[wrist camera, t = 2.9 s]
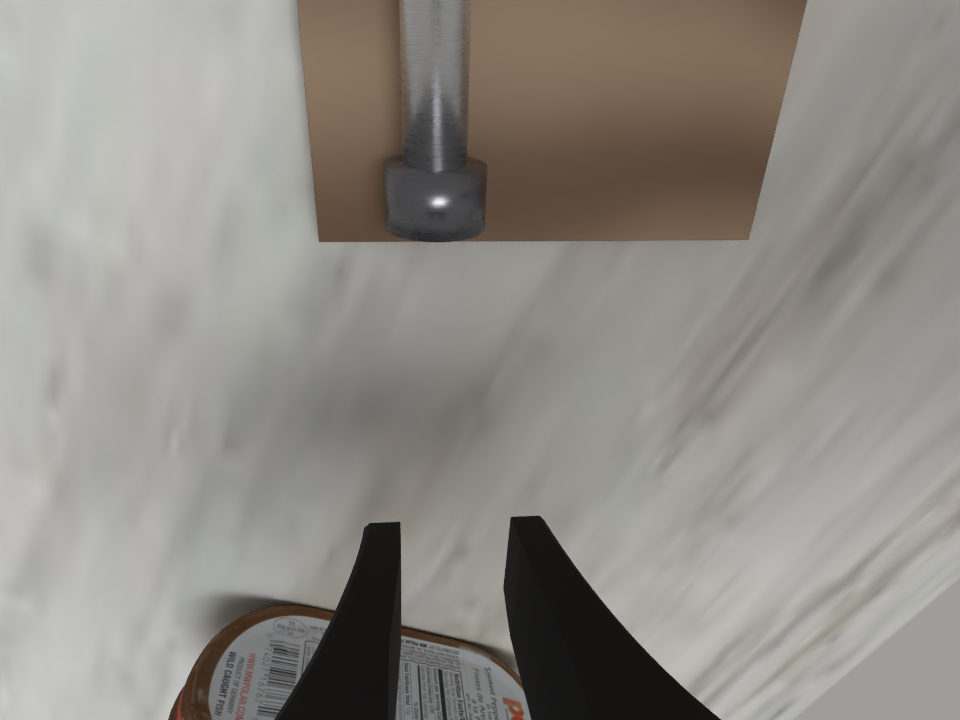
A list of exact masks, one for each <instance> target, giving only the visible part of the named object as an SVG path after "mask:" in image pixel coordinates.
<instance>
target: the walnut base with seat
mask: <svg viewBox="0 0 960 720" xmlns="http://www.w3.org/2000/svg"><path fill="white" fill-rule="evenodd" d="M297 3H298V14H299V25H300V36H301V47H302V58H303V69H304V80H305V91H306V102H307V113H308V124H309V135H310V146H311V157H312V168H313V179H314V190H315V201H316V213H317V224H318V235H319V242H399V241H415V240H409V239H404V238H400V237H397V236H394V235H392V234H390V233H389V232H388V231H386V229H385V215H384V190H383V164H382V163H383V161H384V160H386V159H389V158H392V157H397V156H403V146H402V104H401V62H400V19H399V0H297ZM806 3H807V0H471V33H470V75H469V117H468V157H470V158H474V159H478V160H481V161H483V162H485V163H486V164H487V188H486V214H485V230H484V232H483V233H482V234H480V235H478V236H476V237H473V238H470V239H466V240H460V241H626V240H749V235H750V231H751V227H752V223H753V219H754V215H755V211H756V207H757V203H758V199H759V195H760V191H761V187H762V182H763V178H764V174H765V170H766V166H767V162H768V158H769V154H770V150H771V146H772V142H773V138H774V134H775V129H776V125H777V121H778V117H779V113H780V109H781V105H782V101H783V97H784V93H785V89H786V85H787V81H788V76H789V72H790V68H791V64H792V60H793V56H794V52H795V48H796V44H797V40H798V36H799V32H800V28H801V24H802V19H803V15H804V11H805V7H806Z"/></svg>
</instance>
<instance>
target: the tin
mask: <svg viewBox="0 0 960 720" xmlns="http://www.w3.org/2000/svg"><path fill="white" fill-rule="evenodd" d="M333 615H334V612H330V611H325V610H321V609H316V608H311V607H305V606H293V605H286V606H275V607H269V608H264V609H260V610H257V611H255V612H252V613H249V614H247V615H245V616H243V617H241V618H239V619H237V620H235V621H234V622H232V623H231V624H229V625H228V626H226V627H225V628H224V629H222V630H221V631H220V632H219V633H218V634H217V635H216V636H215V637H214V638H213V639H212V640H211V641H210V642H209V644H208V645H207V646H206V647H205V648H204V650H203V652H202V653H201V655H200V656H199V658H198V659H197V661H196V662H195V664H194V666H193V668H192V670H191V672H190V674H189V676H188V678H187V681H186V684H185V686H184V687H183V688H182V690H181V692H180V693H179V695H178V697H177V699H176V701H175V703H174V705H173V707H172V710H171V712H170V715H169V719H168V720H274V719H275V717H276V716H277V714H278V713H279V711H280V710H281V708H282V707H283V705H284V704H285V702H286V701H287V699H288V697H289V696H290V694H291V692H292V691H293V689H294V688H295V686H296V684H297V683H298V681H299V679H300V678H301V676H302V674H303V672H304V671H305V669H306V667H307V665H308V664H309V662H310V660H311V658H312V656H313V655H314V653H315V651H316V649H317V647H318V645H319V643H320V641H321V639H322V637H323V635H324V633H325V631H326V629H327V627H328V625H329V623H330V621H331V619H332V617H333ZM395 720H531V717H530V713H529V709H528V705H527V701H526V697H525V693H524V689H523V686H522V682H521V678H520V677H519V676H518V675H517V674H516V673H515V672H514V671H513V670H512V669H511V668H509V667H508V666H507V665H506V664H505V663H503V662H502V661H501V660H499V659H498V658H496V657H495V656H493V655H491V654H490V653H488V652H486V651H484V650H483V649H481V648H479V647H476V646H473V645H471V644H468V643H464V642H460V641H456V640H452V639H448V638H443V637H439V636H434V635H430V634H426V633H421V632H417V631H413V630H409V629H404V628H401V653H400V666H399V679H398V692H397V705H396V717H395Z"/></svg>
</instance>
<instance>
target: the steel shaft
mask: <svg viewBox="0 0 960 720" xmlns="http://www.w3.org/2000/svg"><path fill="white" fill-rule="evenodd" d="M399 19H400V62H401V104H402V146H403V156H397V157H392V158H389V159H386V160H384V161H383V163H382V164H383V190H384V215H385V229H386V231H388V232H389V233H390V234H392V235H394V236H397V237H400V238H404V239H409V240H415V241H423V242H452V241H460V240H466V239H470V238H473V237H476V236H478V235H480V234H482V233H483V232H484V230H485V214H486V188H487V164H486V163H485V162H483V161H481V160H478V159H474V158H470V157H468V117H469V75H470V33H471V0H399Z"/></svg>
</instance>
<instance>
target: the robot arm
mask: <svg viewBox="0 0 960 720" xmlns="http://www.w3.org/2000/svg"><path fill="white" fill-rule="evenodd" d="M504 595H505V603H506V610H507V618H508V624H509V631H510V637H511V641H512V645H513V650H514V654H515V658H516V662H517V666H518V670H519V674H520V678H521V682H522V686H523V689H524V693H525V697H526V701H527V705H528V709H529V713H530V717H531V720H721V719H719V718H718V717H717V716H716V715H715V714H714V713H712V712H711V711H710V710H709V709H708V708H706V707H705V706H704V705H703V704H702V703H700V702H699V701H698V700H697V699H696V698H695V697H693V696H692V695H691V694H690V693H689V692H688V691H687V690H686V689H685V688H683V687H682V686H681V685H680V684H679V683H678V682H677V681H676V680H675V679H674V678H673V677H672V676H671V675H670V674H669V673H667V672H666V671H665V670H664V669H663V668H662V667H661V666H660V665H659V664H658V663H657V662H656V661H655V660H654V659H653V658H652V657H651V656H650V655H649V654H648V653H647V652H646V650H645V649H644V648H643V647H642V646H641V645H640V644H639V643H638V642H637V641H636V640H635V639H634V638H633V637H632V635H631V634H630V633H629V632H628V631H627V630H626V629H625V628H624V626H623V625H622V624H621V623H620V622H619V621H618V620H617V618H616V617H615V616H614V615H613V614H612V613H611V611H610V610H609V609H608V608H607V607H606V605H605V604H604V603H603V602H602V600H601V599H600V598H599V597H598V595H597V594H596V593H595V591H594V590H593V589H592V588H591V586H590V585H589V584H588V582H587V581H586V580H585V579H584V577H583V576H582V575H581V573H580V572H579V571H578V569H577V568H576V567H575V565H574V564H573V562H572V561H571V560H570V558H569V557H568V555H567V554H566V552H565V551H564V550H563V548H562V547H561V545H560V544H559V542H558V541H557V539H556V538H555V536H554V535H553V533H552V532H551V530H550V529H549V527H548V525H547V524H546V522H545V521H544V519H543V518H541V517H540V516H525V517H511V520H510V530H509V540H508V549H507V559H506V568H505V578H504ZM400 653H401V533H400V522H386V523H370V524H368V525H367V526H366V527H365V528H364V532H363V538H362V542H361V545H360V549H359V552H358V556H357V559H356V562H355V564H354V567H353V570H352V573H351V575H350V578H349V580H348V583H347V585H346V587H345V590H344V592H343V595H342V597H341V599H340V602H339V604H338V606H337V609H336V611H335V613H334V615H333V617H332V619H331V621H330V623H329V625H328V627H327V629H326V631H325V633H324V635H323V637H322V639H321V641H320V643H319V645H318V647H317V649H316V651H315V653H314V655H313V656H312V658H311V660H310V662H309V664H308V665H307V667H306V669H305V671H304V672H303V674H302V676H301V678H300V679H299V681H298V683H297V684H296V686H295V688H294V689H293V691H292V692H291V694H290V696H289V697H288V699H287V701H286V702H285V704H284V705H283V707H282V708H281V710H280V711H279V713H278V714H277V716H276V717H275V719H274V720H395V717H396V705H397V692H398V679H399V666H400Z"/></svg>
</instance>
